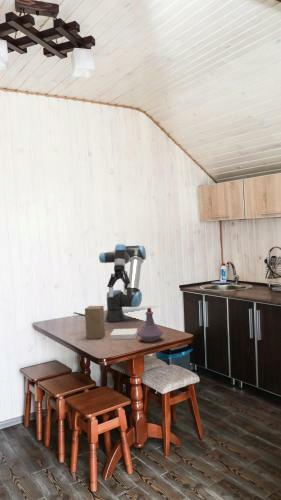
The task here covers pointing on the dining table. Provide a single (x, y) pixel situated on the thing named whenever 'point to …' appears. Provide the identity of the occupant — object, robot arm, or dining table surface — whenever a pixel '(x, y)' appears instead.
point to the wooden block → (94, 322)
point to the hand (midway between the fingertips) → (117, 295)
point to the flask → (150, 329)
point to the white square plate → (124, 334)
